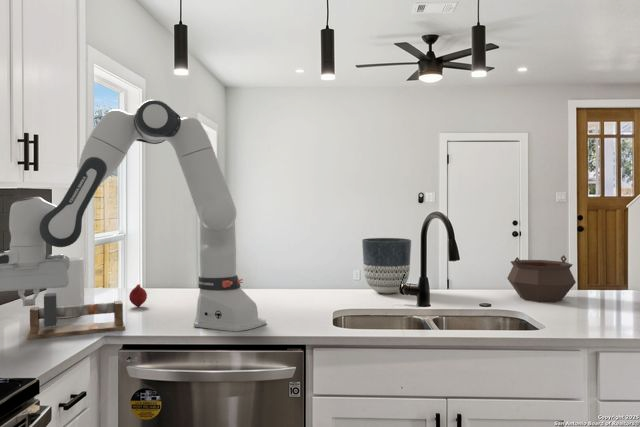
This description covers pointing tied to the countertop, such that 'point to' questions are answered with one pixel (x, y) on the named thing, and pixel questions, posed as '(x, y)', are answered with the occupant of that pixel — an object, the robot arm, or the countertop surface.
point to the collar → (50, 309)
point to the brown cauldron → (541, 279)
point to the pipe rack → (77, 310)
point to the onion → (138, 296)
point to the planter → (386, 263)
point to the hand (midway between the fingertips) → (29, 305)
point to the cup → (71, 286)
